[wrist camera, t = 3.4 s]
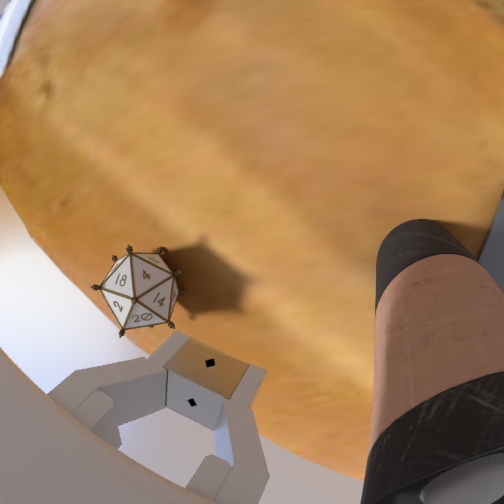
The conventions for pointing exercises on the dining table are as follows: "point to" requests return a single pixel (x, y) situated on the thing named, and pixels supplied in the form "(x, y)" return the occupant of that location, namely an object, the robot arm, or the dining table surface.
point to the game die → (140, 290)
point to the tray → (495, 248)
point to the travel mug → (435, 374)
